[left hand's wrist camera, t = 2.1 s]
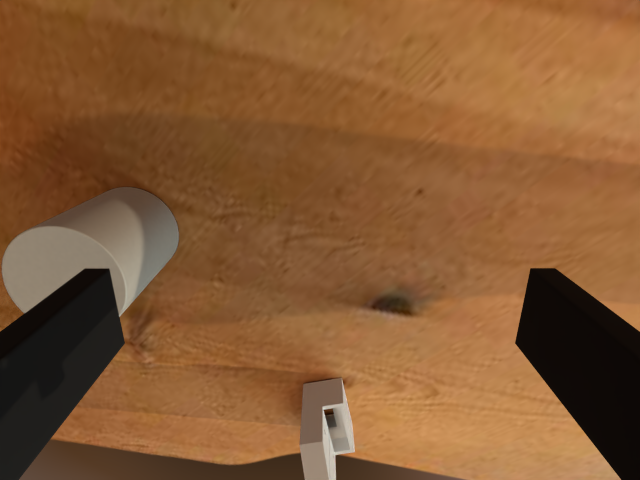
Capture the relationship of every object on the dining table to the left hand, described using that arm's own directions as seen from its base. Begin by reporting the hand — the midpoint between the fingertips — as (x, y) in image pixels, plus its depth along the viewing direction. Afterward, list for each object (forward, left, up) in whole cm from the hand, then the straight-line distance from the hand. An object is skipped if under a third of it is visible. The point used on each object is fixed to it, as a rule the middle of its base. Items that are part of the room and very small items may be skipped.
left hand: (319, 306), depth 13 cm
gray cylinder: (-9, -12, -19) cm, 24 cm away
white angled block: (+14, -17, -19) cm, 29 cm away
